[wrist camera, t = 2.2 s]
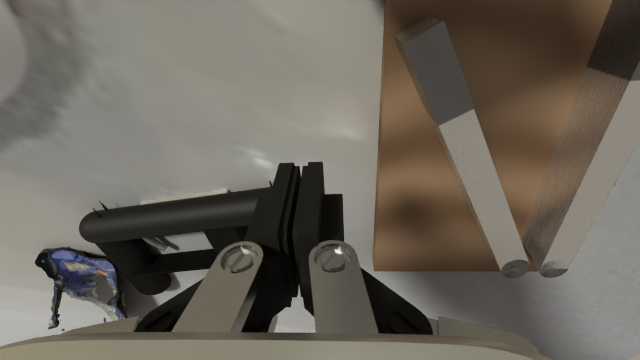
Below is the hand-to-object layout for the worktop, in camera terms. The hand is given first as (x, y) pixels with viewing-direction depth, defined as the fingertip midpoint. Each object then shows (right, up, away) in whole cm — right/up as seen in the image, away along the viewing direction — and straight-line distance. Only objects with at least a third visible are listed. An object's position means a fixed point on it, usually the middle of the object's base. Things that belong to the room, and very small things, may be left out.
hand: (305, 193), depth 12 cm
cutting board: (+13, +3, +11) cm, 17 cm away
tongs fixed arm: (+18, +4, +8) cm, 20 cm away
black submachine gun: (-10, -6, +19) cm, 22 cm away
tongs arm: (+11, +2, +10) cm, 15 cm away
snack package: (-24, -10, +22) cm, 35 cm away
